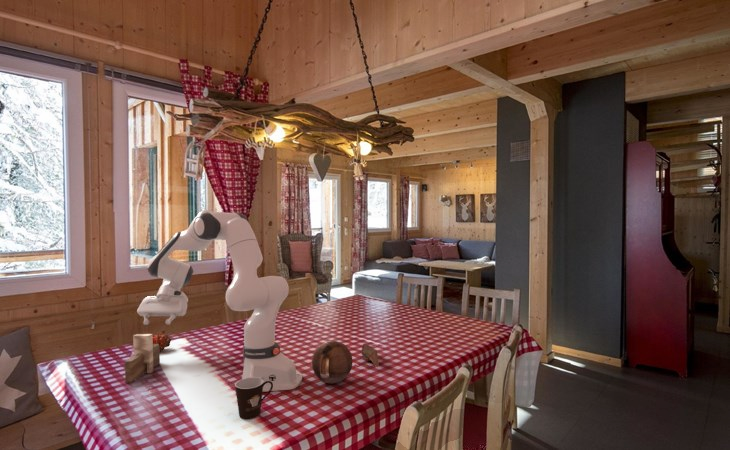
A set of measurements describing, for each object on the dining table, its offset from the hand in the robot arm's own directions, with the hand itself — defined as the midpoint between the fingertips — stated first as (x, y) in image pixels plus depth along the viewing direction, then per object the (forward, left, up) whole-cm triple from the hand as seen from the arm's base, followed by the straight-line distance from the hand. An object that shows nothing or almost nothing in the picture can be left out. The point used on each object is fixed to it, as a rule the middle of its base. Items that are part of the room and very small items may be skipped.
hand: (156, 324), depth 173 cm
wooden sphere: (-77, +21, -17) cm, 82 cm away
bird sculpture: (-91, +1, -17) cm, 93 cm away
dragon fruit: (+8, -14, -17) cm, 23 cm away
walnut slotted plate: (0, +11, -16) cm, 20 cm away
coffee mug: (-55, +45, -17) cm, 73 cm away
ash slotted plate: (0, +11, -16) cm, 20 cm away
